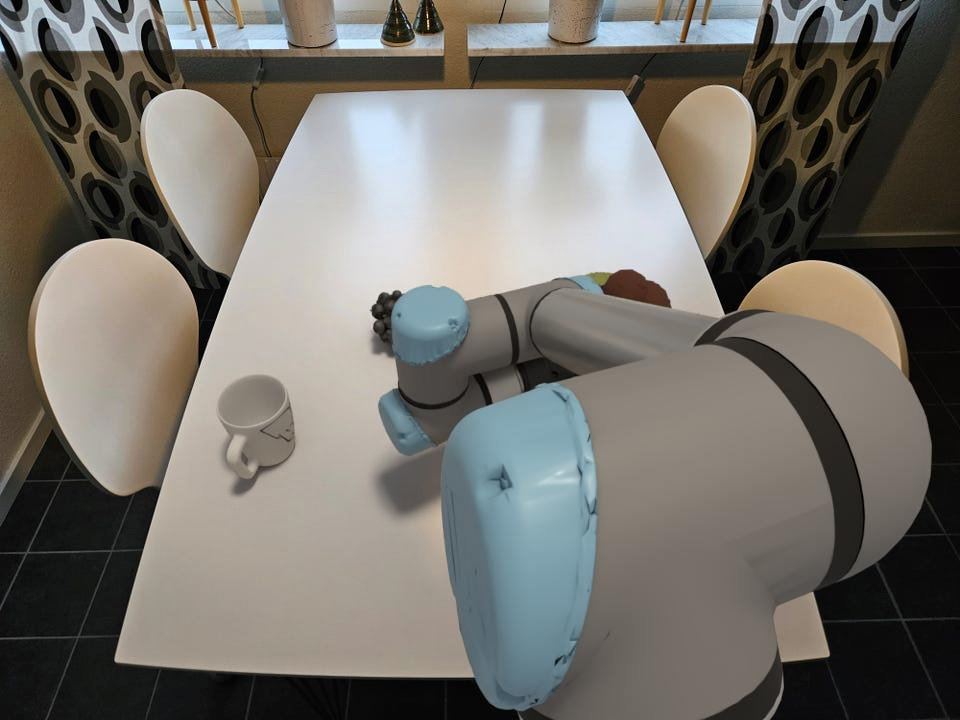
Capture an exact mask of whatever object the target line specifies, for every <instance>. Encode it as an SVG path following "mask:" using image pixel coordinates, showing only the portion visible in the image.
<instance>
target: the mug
mask: <svg viewBox="0 0 960 720" xmlns="http://www.w3.org/2000/svg"><path fill="white" fill-rule="evenodd" d="M215 411H216V415H217V418H218V419H219V422H220V423H221V425H222V426H223V428H224V430H225V431H226V432H227V434H228V436H229V437H230V439H231V441H230V443H229V445H228V448H227V450H226V455H225V457H226V462H227V464H228V466H229V467H230V468H231V469H232V470H233V471H234V472H235V473H236V474H237V475H238V476H239V477H240V478H241V479H247V480H250V479H252V478H253V477H254V476H255V475H256V473H257V471H258V468H259V466H261V467H272V466H276V465H278V464H280V463H282V462H284V461H286V460H287V459H288V458H289V457H290V455H291V454H292V453H293V451H294V449H295V444H296V434H295V433H296V432H295V420H294V419H295V418H294V413H293V408H292V404H291V399H290V395H289V392H288V389H287V387H286V385H285V384H284V383H283V382H282V380H280V378H278V377H277V376H273V375H270V374H267V373H252V374H248V375H243V376H241V377H238V378H236V379H235V380H233V381H231V382H230V383H229V384H227V385H226V386H225V387H224V388H223V389H222V391H220V393H219V394H218V397H217V399H216V403H215ZM242 454H244V456H245V457H246V458H247V463H246V464H245V463H244V462H243V460H242Z"/></svg>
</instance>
